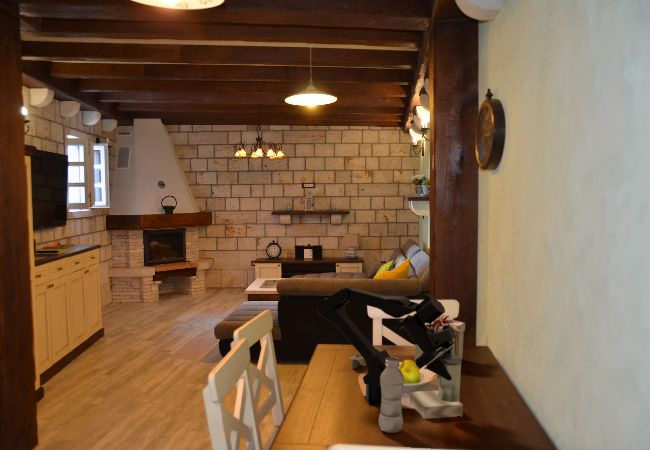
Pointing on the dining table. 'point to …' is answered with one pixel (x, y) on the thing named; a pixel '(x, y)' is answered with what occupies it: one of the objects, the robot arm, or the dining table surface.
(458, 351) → the gift box
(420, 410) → the base block
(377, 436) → the dining table surface
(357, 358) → the open flap box
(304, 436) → the dining table surface
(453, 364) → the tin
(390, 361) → the plastic bottle
